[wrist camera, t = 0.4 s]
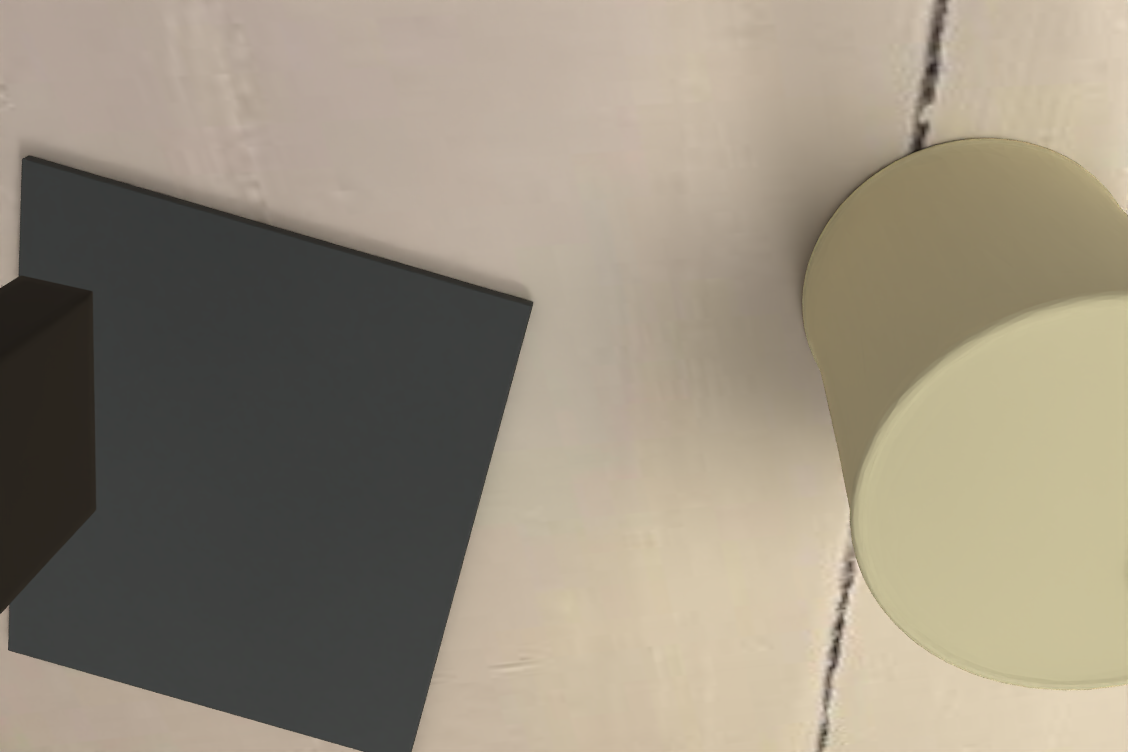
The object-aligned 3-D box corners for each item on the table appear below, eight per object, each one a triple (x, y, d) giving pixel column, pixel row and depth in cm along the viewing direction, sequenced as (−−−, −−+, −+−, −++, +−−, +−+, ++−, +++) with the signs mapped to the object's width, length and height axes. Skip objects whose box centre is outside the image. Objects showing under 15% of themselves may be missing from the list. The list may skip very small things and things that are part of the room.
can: (1000, 481, 34) (1137, 774, 23) (743, 349, 33) (762, 591, 22) (1206, 233, 30) (1490, 450, 19) (920, 76, 29) (1049, 209, 18)
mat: (28, 154, 33) (21, 158, 32) (533, 301, 33) (531, 306, 33) (13, 643, 42) (7, 650, 41) (410, 757, 42) (407, 764, 42)
